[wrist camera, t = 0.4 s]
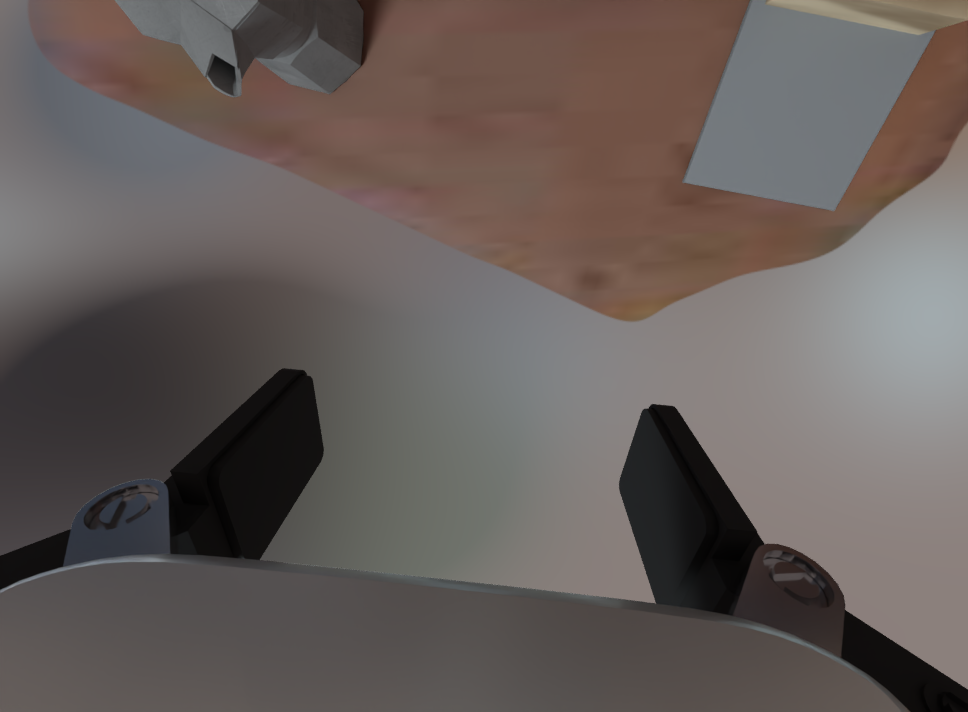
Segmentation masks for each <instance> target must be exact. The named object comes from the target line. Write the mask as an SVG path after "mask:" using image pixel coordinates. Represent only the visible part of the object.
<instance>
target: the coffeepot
mask: <svg viewBox="0 0 968 712" xmlns="http://www.w3.org/2000/svg"><path fill="white" fill-rule="evenodd" d="M115 1H116V2H117V4H118V5H119V6H120V7H121V9H122V10H123V11H124V12H125V14H126V15H127V16H128V17H129V19H130V20H131V21H132V22H133V23H134V25H135V26H136V27H137V28H138V30H139V31H140V32H141V33H142V34H143V35H146V36H149V37H152V38H156V39H160V40H163V41H167V42H171V43H175V44H179V45H182V47H183V48H184V49H185V51H186V52H187V53H188V55H189V56H190V57H191V59H192V60H193V62H194V63H195V64H196V66H197V67H198V68H199V70H200V71H201V72H202V74H203V75H204V76H205V77H206V78H207V79H208V80H209V81H210V83H211V84H212V86H213V87H214V88H215V89H216V90H218V91H220V92H221V93H223V94H225V95H227V96H230V97H238V96H241V83H242V78H243V76H244V74H245V72H246V71H247V69H248V67H249V66H250V64H251V63H252V61H253V60H254V58H256V59H257V60H258V61H259V62H261V63H262V64H263V65H265V66H266V67H267V68H269V69H270V70H271V71H273V72H274V73H275V74H277V75H278V76H279V77H281V78H282V79H283V80H285V81H286V82H287V83H289V84H291V85H295V86H299V87H303V88H307V89H311V90H316V91H320V92H324V93H328V94H331V93H332V92H333V91H334V90H335V89H336V88H338V87H339V86H340V85H341V84H343V83H344V82H346V81H347V80H348V79H349V77H350V76H351V75H352V74H353V73H354V72H355V71H356V70H357V69H358V68H359V67H360V66H361V56H362V47H363V14H364V12H363V10H362V8H361V7H360V5H359V3H358V2H357V0H115Z"/></svg>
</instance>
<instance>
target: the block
mask: <svg viewBox="0 0 968 712" xmlns="http://www.w3.org/2000/svg"><path fill="white" fill-rule="evenodd" d="M765 4H766V5H771V6H776V7H781V8H786V9H791V10H796V11H801V12H806V13H811V14H816V15H821V16H826V17H831V18H836V19H841V20H846V21H851V22H856V23H861V24H866V25H871V26H876V27H881V28H886V29H891V30H896V31H901V32H906V33H911V34H916V35H921V34H924V33H927V32H931V31H934V30H937V29H940V28H944V27H947V26H950V25H954V24H957V23H960V22H963V21H967V20H968V0H766V3H765Z"/></svg>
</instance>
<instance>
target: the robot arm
mask: <svg viewBox="0 0 968 712" xmlns="http://www.w3.org/2000/svg"><path fill="white" fill-rule="evenodd" d="M323 451H324V448H323V442H322V435H321V429H320V423H319V416H318V410H317V404H316V399H315V391H314V385H313V380H312V378H311V377H310V376H307V374H306V372H305V371H304V370H295V369H285V368H284V369H281V370H279V371H278V372H277V373H276V374H275V375H274V376H273V377H272V378H271V379H269V381H267V382H266V383H265V384H264V385H263V386H262V387H261V388H260V389H259V390H258V391H256V392H255V393H254V394H253V395H252V396H251V397H250V398H249V399H248V400H247V401H246V402H245V403H244V404H242V405H241V406H240V407H239V408H238V409H237V410H236V411H235V412H234V413H233V414H231V415H230V416H229V417H228V418H227V419H226V420H225V421H224V422H223V423H222V424H221V425H220V426H218V427H217V428H216V429H215V430H214V431H213V432H212V433H211V434H210V435H209V436H208V437H206V438H205V439H204V440H203V441H202V442H201V443H200V444H199V445H198V446H197V447H196V448H195V449H193V450H192V451H191V452H190V453H189V454H188V455H187V456H186V457H185V458H184V459H183V460H182V461H180V462H179V463H178V464H177V465H176V466H175V467H174V468H173V469H172V470H171V471H170V472H171V474H172V476H171V477H170V478H169V479H167V480H166V481H165V482H164V483H163V482H161V481H160V480H154V479H139V480H135V481H130V482H126V483H123V484H120V485H118V486H115V487H112V488H110V489H108V490H106V491H105V492H103V493H101V494H99V495H97V496H96V497H94V498H93V499H92V500H90V501H89V502H88V503H87V504H85V505H84V506H83V507H82V508H81V510H79V512H78V513H77V514H76V516H75V518H74V520H73V522H72V527H71V529H70V530H67V531H64V532H62V533H59V534H57V535H54V536H51V537H49V538H46V539H43V540H41V541H38V542H35V543H33V544H30V545H28V546H25V547H23V548H20V549H17V550H15V551H12V552H9V553H7V554H4V555H1V556H0V712H968V689H966V688H965V687H963V686H961V685H960V684H958V683H957V682H955V681H953V680H952V679H951V678H949V677H948V676H946V675H944V674H943V673H941V672H940V671H938V670H937V669H935V668H934V667H932V666H931V665H929V664H928V663H926V662H924V661H923V660H921V659H920V658H918V657H917V656H915V655H914V654H912V653H910V652H909V651H907V650H906V649H904V648H903V647H901V646H900V645H898V644H897V643H895V642H894V641H892V640H890V639H889V638H887V637H886V636H884V635H883V634H881V633H880V632H878V631H877V630H875V629H873V628H872V627H870V626H869V625H867V624H865V623H864V622H863V621H861V620H860V619H858V618H856V617H855V616H853V615H852V614H850V613H849V612H847V611H846V610H845V600H844V595H843V593H842V591H841V590H840V588H839V586H838V584H837V583H836V582H835V581H834V579H833V578H832V577H831V576H830V575H829V573H828V572H826V570H824V569H823V568H822V567H821V566H820V565H818V564H817V563H816V562H815V561H813V560H812V559H810V558H809V557H807V556H805V555H804V554H803V553H800V552H798V551H796V550H794V549H792V548H790V547H786V546H783V545H779V544H764V543H763V541H762V540H761V538H760V537H759V535H758V533H757V531H756V529H755V527H754V526H753V524H752V523H751V521H750V520H749V518H748V517H747V515H746V514H745V512H744V511H743V509H742V508H741V506H740V505H739V503H738V502H737V500H736V499H735V497H734V496H733V494H732V492H731V491H730V489H729V488H728V486H727V485H726V484H725V482H724V480H723V479H722V477H721V476H720V474H719V473H718V471H717V470H716V468H715V467H714V465H713V464H712V462H711V461H710V459H709V457H708V456H707V454H706V453H705V451H704V450H703V448H702V447H701V445H700V444H699V442H698V441H697V439H696V438H695V436H694V435H693V433H692V432H691V430H690V429H689V427H688V426H687V424H686V422H685V421H684V419H683V418H682V416H681V415H680V413H679V412H678V411H677V409H676V408H675V407H673V406H666V405H656V404H652V405H651V406H650V407H649V409H644V410H643V411H642V413H641V416H640V419H639V422H638V425H637V428H636V431H635V434H634V437H633V440H632V443H631V446H630V450H629V452H628V456H627V459H626V462H625V465H624V468H623V471H622V474H621V477H620V481H619V489H620V494H621V496H622V500H623V503H624V506H625V509H626V512H627V515H628V518H629V521H630V524H631V527H632V531H633V534H634V537H635V540H636V543H637V546H638V549H639V552H640V555H641V558H642V561H643V564H644V567H645V570H646V574H647V576H648V580H649V583H650V586H651V589H652V592H653V595H654V598H655V601H656V604H655V603H647V602H640V601H632V600H625V599H617V598H608V597H599V596H589V595H581V594H573V593H564V592H555V591H546V590H538V589H529V588H528V589H527V588H520V587H511V586H501V585H493V584H484V583H475V582H465V581H456V580H447V579H438V578H428V577H419V576H410V575H400V574H391V573H382V572H372V571H362V570H352V569H343V568H333V567H323V566H314V565H303V564H294V563H284V562H274V561H263V560H260V558H261V557H262V555H263V553H264V552H265V550H266V549H267V547H268V545H269V544H270V542H271V541H272V539H273V537H274V536H275V534H276V532H277V531H278V529H279V528H280V526H281V524H282V523H283V521H284V520H285V518H286V517H287V515H288V513H289V512H290V510H291V509H292V507H293V505H294V503H295V502H296V501H297V499H298V497H299V496H300V494H301V493H302V491H303V489H304V488H305V486H306V484H307V483H308V481H309V480H310V478H311V476H312V475H313V473H314V472H315V470H316V468H317V467H318V465H319V464H320V462H321V460H322V457H323Z"/></svg>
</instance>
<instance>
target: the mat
mask: <svg viewBox="0 0 968 712" xmlns="http://www.w3.org/2000/svg"><path fill="white" fill-rule="evenodd" d="M765 3H766V0H750V2H749V5H748V8H747V10H746V13H745V16H744V18H743V21H742V24H741V26H740V29H739V32H738V34H737V37H736V40H735V42H734V45H733V48H732V50H731V53H730V56H729V59H728V61H727V64H726V67H725V69H724V72H723V75H722V77H721V80H720V83H719V85H718V88H717V91H716V93H715V96H714V99H713V101H712V104H711V107H710V109H709V112H708V115H707V117H706V120H705V123H704V125H703V128H702V131H701V134H700V136H699V139H698V142H697V144H696V147H695V150H694V152H693V155H692V158H691V160H690V163H689V166H688V168H687V171H686V174H685V176H684V179H683V182H684V183H689V184H694V185H700V186H705V187H710V188H715V189H721V190H726V191H731V192H737V193H742V194H747V195H752V196H758V197H763V198H768V199H774V200H779V201H784V202H790V203H795V204H800V205H805V206H811V207H816V208H821V209H827V210H832V211H835V209H836V207H837V205H838V204H839V202H840V200H841V198H842V196H843V195H844V193H845V191H846V189H847V187H848V186H849V184H850V182H851V180H852V179H853V177H854V175H855V173H856V171H857V170H858V168H859V166H860V164H861V163H862V161H863V159H864V157H865V155H866V154H867V152H868V150H869V148H870V146H871V145H872V143H873V141H874V139H875V138H876V136H877V134H878V132H879V130H880V129H881V127H882V125H883V123H884V122H885V120H886V118H887V116H888V114H889V113H890V111H891V109H892V107H893V105H894V104H895V102H896V100H897V98H898V97H899V95H900V93H901V91H902V89H903V88H904V86H905V84H906V82H907V81H908V79H909V77H910V75H911V73H912V72H913V70H914V68H915V66H916V65H917V63H918V61H919V59H920V57H921V56H922V54H923V52H924V50H925V48H926V47H927V45H928V43H929V41H930V40H931V38H932V36H933V34H934V32H935V31H936V30H934V31H931V32H927V33H924V34H921V35H916V34H911V33H906V32H901V31H896V30H891V29H886V28H881V27H876V26H871V25H866V24H861V23H856V22H851V21H846V20H841V19H836V18H831V17H826V16H821V15H816V14H811V13H806V12H801V11H796V10H791V9H786V8H781V7H776V6H771V5H766V4H765Z"/></svg>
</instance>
